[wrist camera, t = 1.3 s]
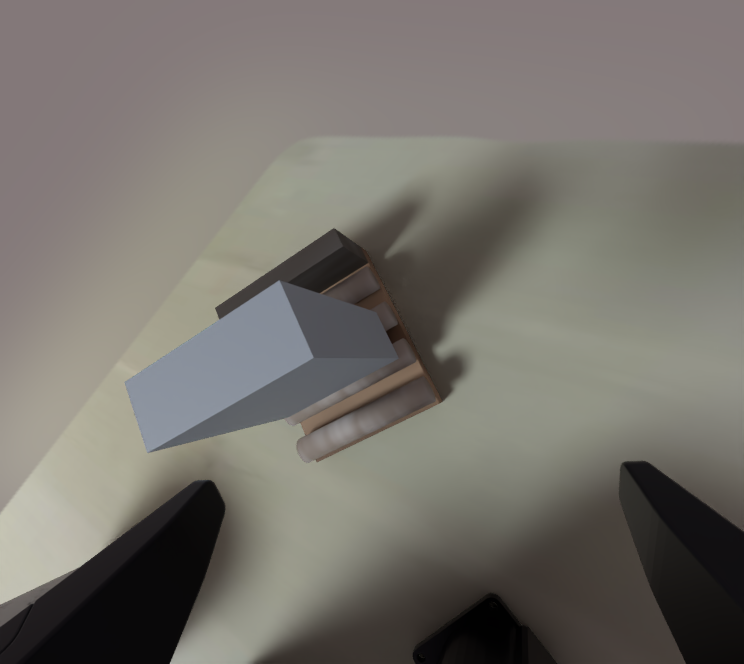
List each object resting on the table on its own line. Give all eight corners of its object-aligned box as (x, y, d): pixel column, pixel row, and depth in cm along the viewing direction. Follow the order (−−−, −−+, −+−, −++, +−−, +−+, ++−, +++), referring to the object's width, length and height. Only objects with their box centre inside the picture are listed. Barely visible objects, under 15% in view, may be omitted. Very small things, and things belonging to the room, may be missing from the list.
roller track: (442, 401, 24) (424, 411, 20) (323, 458, 27) (282, 479, 22) (366, 251, 27) (333, 228, 22) (263, 316, 29) (214, 307, 25)
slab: (399, 358, 22) (313, 357, 13) (288, 417, 25) (147, 453, 15) (376, 312, 23) (279, 280, 14) (270, 373, 25) (124, 382, 16)
